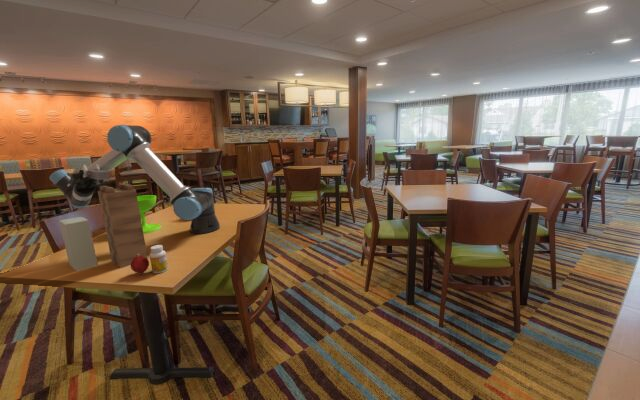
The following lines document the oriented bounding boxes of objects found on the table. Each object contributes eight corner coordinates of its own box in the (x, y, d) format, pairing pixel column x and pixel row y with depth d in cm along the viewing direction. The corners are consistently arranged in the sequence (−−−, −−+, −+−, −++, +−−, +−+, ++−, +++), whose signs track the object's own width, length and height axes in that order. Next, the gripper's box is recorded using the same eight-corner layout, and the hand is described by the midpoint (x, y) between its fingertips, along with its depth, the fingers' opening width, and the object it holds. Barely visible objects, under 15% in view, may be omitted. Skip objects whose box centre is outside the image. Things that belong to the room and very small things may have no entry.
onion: (137, 270, 113) (134, 251, 111) (153, 269, 113) (149, 250, 112) (129, 277, 107) (125, 257, 106) (145, 276, 108) (142, 256, 106)
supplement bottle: (149, 271, 112) (145, 247, 110) (163, 266, 116) (159, 243, 114) (157, 274, 109) (153, 250, 107) (171, 269, 113) (167, 245, 111)
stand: (111, 261, 122) (96, 186, 115) (138, 253, 130) (125, 182, 123) (120, 267, 116) (105, 188, 109) (147, 259, 124) (135, 184, 117)
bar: (83, 176, 127) (82, 169, 126) (93, 175, 129) (92, 168, 129) (99, 180, 113) (98, 172, 112) (110, 178, 116) (108, 171, 115)
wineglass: (138, 235, 154) (132, 202, 150) (122, 231, 161) (116, 199, 157) (167, 227, 167) (162, 196, 163) (150, 223, 175) (145, 194, 171)
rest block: (69, 264, 120) (59, 220, 116) (90, 258, 126) (80, 216, 121) (76, 271, 114) (65, 224, 110) (97, 264, 119) (88, 220, 115)
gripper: (107, 194, 143) (117, 172, 128) (63, 200, 131) (69, 177, 116) (102, 180, 144) (111, 157, 129) (58, 185, 131) (63, 160, 116)
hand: (91, 167), depth 122 cm, fingers closed on bar, 3 cm apart
